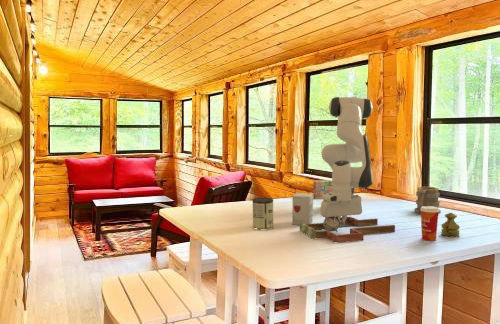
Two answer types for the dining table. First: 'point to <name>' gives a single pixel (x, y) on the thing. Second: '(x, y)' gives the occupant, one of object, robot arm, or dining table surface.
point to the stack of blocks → (322, 188)
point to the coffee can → (263, 213)
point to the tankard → (427, 198)
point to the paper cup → (429, 222)
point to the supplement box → (302, 209)
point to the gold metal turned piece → (450, 226)
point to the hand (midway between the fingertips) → (341, 225)
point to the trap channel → (354, 234)
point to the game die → (331, 223)
